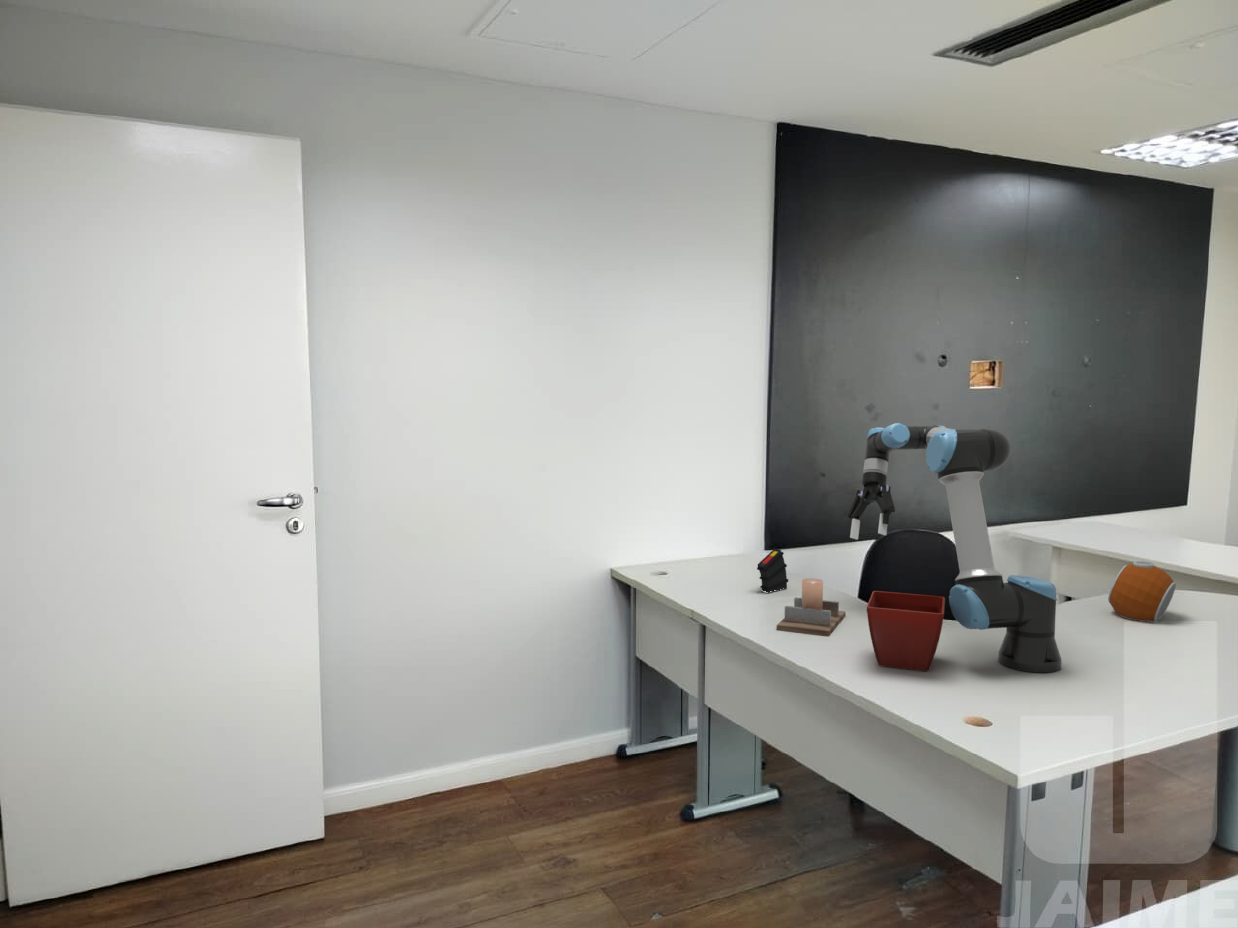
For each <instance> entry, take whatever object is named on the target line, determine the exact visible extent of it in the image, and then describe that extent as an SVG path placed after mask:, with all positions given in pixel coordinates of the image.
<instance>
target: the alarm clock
mask: <svg viewBox="0 0 1238 928" xmlns="http://www.w3.org/2000/svg"><path fill="white" fill-rule="evenodd" d="M1176 584H1177V583H1176V582H1175V581H1174V580H1173V579H1172V577H1171V575H1169V574H1168V573H1167V572H1166V571H1165V570H1163V569H1161V568H1160V567H1157V566H1156V565H1155V564H1154V563H1153V562H1150V561H1140V560H1138V561H1133V563H1131V564H1125V565H1123V566H1122V568H1121V569H1120V571H1118V573H1117V575H1116V577H1115V579H1114V580H1113V583H1112V585H1111V588H1110V591H1109V593H1108V596H1107V598H1108V599H1107V601H1108V603H1109V604H1110V606H1111V607H1112V608H1113V610H1114V611H1115V612H1116V613H1117V614H1118V615H1120V616H1119V617H1122V618H1124V619H1125V618H1126V619H1128V620H1132V619H1134V620H1133V621H1136V620H1140V621H1139V622H1145V621H1156V622H1157V621H1159V620H1160V619H1161V618H1163V616H1164V615H1165V613H1166V611H1167V609H1168V607H1169V606H1170V604H1171V601H1172V599H1173V596H1174V594H1175V590H1176V586H1177V585H1176ZM1158 619H1159V620H1158Z"/></svg>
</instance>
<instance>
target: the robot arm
mask: <svg viewBox="0 0 1238 928" xmlns="http://www.w3.org/2000/svg"><path fill="white" fill-rule="evenodd" d="M901 450H902V451H903V450H904V451H906V450H907V451H909V450H910V451H911V450H926V452H925V462H926V466H927V467H928V470H929V472H931V473H934V474H937V479H938V482H940V483H941V485H943V486H945V490H946V497H947V502H948V507H949V514H950V519H951V521H950V522H951V526H952V533H953V538H954V545H955V550H956V556H957V557H956V558H957V563H958V569H959V574H958V575H957V576H956V578H955V579H954V581H955V585H954V586H953V587H951V589H950V590H949V596H948V602H949V603H948V604H949V607H950V610H951V613H952V616H953V617H954V618H955V620H956V621H957V622H958V623H959V625H961V626H962V627H963V628H964V629H968V630H980V631H981V630H982V631H983V630H987V629H988V630H989V629H1003V628H1005V629H1006V632H1005V636H1004V638H1003V640H1002V643H1001V645H1000V647H999V651H998V663H1000V664H1001V665H1003V666H1004V667H1007V668H1011V669H1014V670H1016V671H1017V670H1019V671H1022V672H1027V673H1028V672H1029V673H1053V672H1057V671H1059V670H1061V668H1062V657H1061V653H1060V650H1059V646H1058V644H1057V641H1056V637H1055V635H1056V615H1057V614H1056V612H1057V611H1056V609H1057V607H1056V606H1057V600H1058V598H1057V587H1056V586H1055V584H1054V583H1053V582H1051V581H1048V580H1045V579H1042V578H1038V577H1032V576H1028V575H1020V574H1019V575H1015V574H1011V575H1009V576H1008V577H1007V579H1006V581H1007V582H1004V580H1003V575H1002V574H1001V573H1000V571H997V570H996V569H995V565H994V558H993V552H992V548H991V542H990V536H989V530H988V526H987V525H988V524H987V519H986V514H985V513H986V512H985V508H984V503H983V502H984V501H983V496H982V492H981V491H982V490H981V486H980V481H981V479H982V478H983V477H984V474H985V472H987V471H988V472H989V471H993V470H996V469H998V468H1000V467H1003V465H1004V464H1006V463H1007V461H1008V460H1009V458H1010V456H1011V454H1012V445H1011V442H1010V440H1009V438H1008V437H1007V436H1006V434H1004V433H1003V432H1001V431H998V430H996V429H989V428H982V429H981V428H980V429H976V428H975V429H974V428H973V429H969V428H968V429H955V428H947V427H946V426H945V425H939V424H937V425H935V424H934V425H918V426H917V425H916V426H913V425H912V426H909V425H908V426H907V425H904V424H902V423H899V422H895V423H893V424H890V425H888V426H886V427H885V428H884V427H875V428H873V427H872V428H870V429H869V430H868V433H867V438H866V448H865V457H864V463H863V471H862V472H863V474H862V482H861V484H862V485H863V490H859V489H857V490H856V492H855V498H854V499H853V502H852V504H851V506H850V509H849V511H848V513H847V517H846V518H848V519H850V520H851V522H850V535H849V538H850V539H853V540H856V541H857V540H859V534H860V526H861V520H860V518H861V517H862V515H863V513H864V511H865V510H866V508H867V507H868V506H869V505H871V503H874V502H875V503H876V504H877V505H878V507H879V509H880V513H879V521H878V528H877V529H878V531H877V534H879V535H882V536H887V534H888V524H889V523H890V516H891V513H895V512H896V507H895V504H894V502H893V497H892V493H891V486H890V485H887V478H888V476H887V474H888V467H889V460H890V454H891V453H892V452H895V451H901Z"/></svg>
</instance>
